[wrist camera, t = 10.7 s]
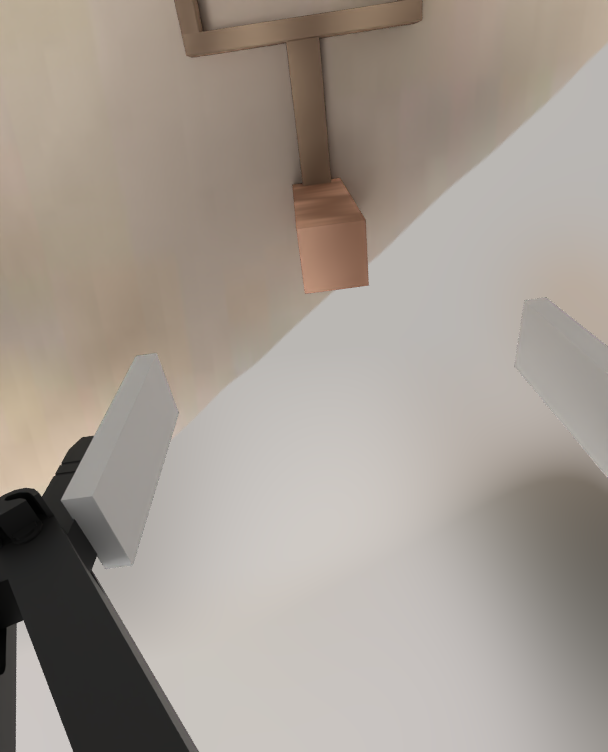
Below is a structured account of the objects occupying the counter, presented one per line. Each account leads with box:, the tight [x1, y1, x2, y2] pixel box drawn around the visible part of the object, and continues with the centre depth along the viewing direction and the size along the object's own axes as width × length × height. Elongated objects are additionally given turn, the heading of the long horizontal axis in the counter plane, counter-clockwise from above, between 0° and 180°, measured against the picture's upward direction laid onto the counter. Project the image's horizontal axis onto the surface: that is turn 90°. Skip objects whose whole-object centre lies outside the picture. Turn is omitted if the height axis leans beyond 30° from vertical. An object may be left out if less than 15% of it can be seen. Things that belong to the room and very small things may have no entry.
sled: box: [174, 0, 422, 294], centre depth 22 cm, size 14×26×12 cm, turn 7°
